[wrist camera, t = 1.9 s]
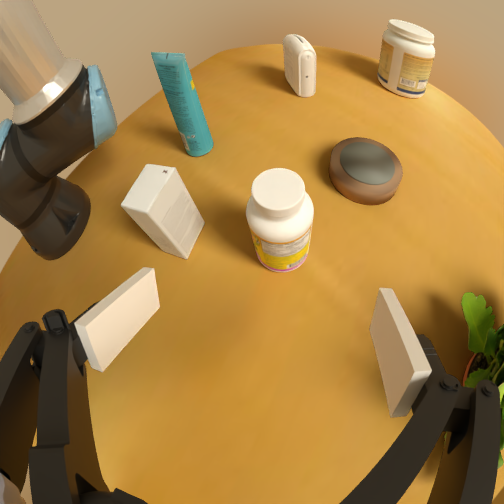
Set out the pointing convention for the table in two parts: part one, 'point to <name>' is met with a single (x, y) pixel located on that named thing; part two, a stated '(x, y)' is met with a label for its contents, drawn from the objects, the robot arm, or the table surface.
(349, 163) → the walnut plinth
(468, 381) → the potted flower
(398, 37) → the supplement tub
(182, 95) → the tube
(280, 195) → the supplement bottle
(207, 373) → the table surface
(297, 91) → the photo printer
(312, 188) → the table surface
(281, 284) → the table surface
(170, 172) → the skincare box
